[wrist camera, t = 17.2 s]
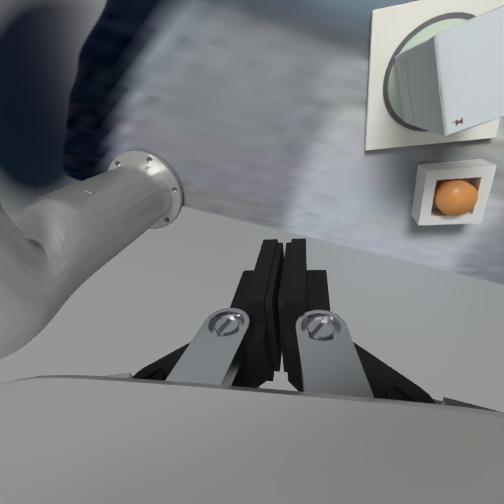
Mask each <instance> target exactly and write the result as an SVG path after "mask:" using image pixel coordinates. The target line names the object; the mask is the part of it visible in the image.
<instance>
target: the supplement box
mask: <svg viewBox="0 0 504 504" xmlns="http://www.w3.org/2000/svg"><path fill="white" fill-rule="evenodd" d="M395 64H396V72H397V78H398V85H399V91H400V97H401V103H402V109H403V115H404V122H405V123H408V124H411V125H413V126H416V127H419V128H422V129H425V130H427V131H430V132H433V133H436V134H439V135H441V136H444V137H447V136H450V135H452V134H455V133H458V132H461V131H464V130H467V129H470V128H473V127H475V126H478V125H481V124H484V123H487V122H490V121H493V120H495V119H498V118H501V117H504V5H502V6H500V7H497V8H495V9H493V10H490V11H488V12H485V13H483V14H481V15H479V16H476V17H474V18H472V19H469V20H467V21H465V22H462V23H460V24H458V25H455V26H453V27H451V28H449V29H446V30H444V31H442V32H439V33H437V34H435V35H434V36H432V37H431V38H429V39H427V40H425V41H423V42H421V43H419V44H417V45H415V46H413V47H411V48H409V49H407V50H405V51H403V52H402V53H400V54H398V55H397V56H395Z"/></svg>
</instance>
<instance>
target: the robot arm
mask: <svg viewBox="0 0 504 504" xmlns="http://www.w3.org/2000/svg"><path fill="white" fill-rule="evenodd" d="M151 159H152V160H151ZM182 203H183V193H182V188H181V184H180V182H179V179H178V177H177V176H176V174H175V172H174V171H173V170H172V168H171V167H170V166H169V165H168V164H167V163H166V162H165V161H164V160H162V159H161V158H159V157H158V156H156V155H154V154H152V153H150V152H146V151H142V150H132V151H128V152H125V153H123V154H120V155H119V156H117V157H116V158H115V159H114V160H113V161H112V163H111V165H110V167H109V169H108V171H107V172H105V173H102V174H99V175H97V176H94V177H92V178H89V179H87V180H84V181H81V182H79V183H76V184H74V185H71V186H69V187H66V188H63V189H61V190H58V191H56V192H53V193H51V194H48V195H46V196H43V197H41V198H39V199H37V200H36V201H34V202H33V203H31V204H30V205H29V206H28V207H27V208H26V209H25V210H24V211H23V212H22V213H21V215H20V216H19V217H18V219H17V221H16V222H15V224H14V223H13V221H12V220H11V218H10V217H9V216H8V214H7V213H6V211H5V210H4V209H3V207H2V206H1V205H0V359H2V358H4V357H6V356H8V355H10V354H12V353H14V352H16V351H17V350H19V349H20V348H21V347H23V346H25V345H26V344H27V343H28V342H30V341H31V340H32V339H33V338H34V337H35V336H37V334H39V333H40V332H41V331H42V330H43V329H44V327H46V325H47V324H48V323H49V322H50V321H51V320H52V319H53V317H54V316H55V315H56V313H57V312H58V311H59V310H60V308H61V307H62V306H63V305H64V303H65V302H66V301H67V300H68V298H69V297H70V296H71V295H72V294H73V293H74V291H76V290H77V289H78V288H79V287H80V285H82V284H83V283H84V282H85V281H86V280H87V279H88V278H89V277H90V276H92V275H93V274H94V273H95V272H96V271H97V270H99V269H100V268H101V267H102V266H103V265H105V264H106V263H107V262H108V261H110V260H111V259H112V258H113V257H114V256H116V255H117V254H118V253H119V252H121V251H122V250H123V249H124V248H125V247H127V246H128V245H129V244H130V243H132V242H133V241H134V240H135V239H136V238H138V237H139V236H140V235H141V234H143V233H144V232H145V231H146V230H147V229H149V228H153V229H156V228H162V227H164V226H167V225H168V224H170V223H171V222H173V221H174V220H175V219H176V218H177V216H178V215H179V213H180V211H181V208H182ZM306 269H307V267H306V239H292V242H291V243H286V250H285V256H284V252H283V243H278V240H277V239H272V240H263V243H262V247H261V250H260V253H259V256H258V259H257V263H256V266H255V269H254V270H252V271H244V272H243V274H242V277H241V279H240V282H239V285H238V287H237V290H236V293H235V296H234V298H233V301H232V304H231V306H230V308H225V309H221V310H218V311H216V312H214V313H212V314H211V315H210V316H209V317H208V318H207V319H206V320H205V322H204V323H203V325H202V326H201V328H200V329H199V331H198V332H197V334H196V335H195V337H194V338H193V340H192V341H191V342H190V343H189V344H186V345H185V346H183V347H181V348H179V349H177V350H175V351H174V352H172V353H170V354H168V355H166V356H165V357H163V358H161V359H159V360H158V361H155V362H154V363H152V364H150V365H148V366H146V367H144V368H143V369H142V370H140V371H139V372H137V373H136V374H135V375H134V376H132V375H131V373H125V374H118V375H111V376H84V375H48V376H36V377H29V378H23V379H18V380H14V381H10V382H6V383H2V384H0V504H504V412H499V411H496V410H491V409H488V408H484V407H480V406H476V405H472V404H469V403H465V402H461V401H457V400H453V399H449V398H445V397H443V400H442V401H439V400H435V399H432V398H431V397H430V395H429V394H428V393H426V392H425V391H424V390H423V389H422V388H420V387H419V386H417V385H416V384H414V383H413V382H412V381H410V380H409V379H407V378H406V377H404V376H403V375H401V374H400V373H398V372H397V371H395V370H394V369H392V368H391V367H389V366H388V365H386V364H385V363H383V362H382V361H380V360H379V359H378V358H376V357H375V356H373V355H372V354H370V353H369V352H367V351H366V350H364V349H363V348H361V347H360V346H358V345H357V344H355V343H354V342H353V341H352V338H351V336H350V333H349V331H348V328H347V325H346V323H345V322H344V320H343V319H342V318H341V317H340V316H339V315H337V314H335V313H333V312H330V304H329V294H328V283H327V273H326V270H306ZM282 354H283V365H284V372H288V381H289V382H290V383H291V384H292V385H293V386H294V387H295V388H296V389H297V390H298V391H286V390H275V389H262V388H260V385H261V384H263V383H264V382H266V381H273V377H274V371H280V364H281V355H282Z"/></svg>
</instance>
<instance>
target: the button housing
mask: <svg viewBox="0 0 504 504" xmlns="http://www.w3.org/2000/svg"><path fill="white" fill-rule="evenodd" d="M496 167H497V165H495V164H493V163H490V162H488V161H486V160H483V159H473V160H462V161H450V162H438V163H427V164H418V167H417V175H416V182H415V189H414V197H413V204H412V211H411V216H412V217H413V219H414V220H415V222H416V223H417V224H418V225H444V224H470V223H482V219H483V216H484V212H485V208H486V204H487V201H488V197H489V193H490V189H491V185H492V182H493V178H494V174H495V170H496ZM460 178H461V179H463V180H464V181H466V182H467V183H469V184H470V185H472V186H473V187H475V188H476V190H477V192H478V199H477V202H476V204H475V205H474V207H473V208H472V209H471V210H469V211H468V212H466V213H464V214H462V215H458V216H449V215H446V214H444V213H443V212H442V211H441V210H440V209H439V208H438V207H437V206H436V205H435V204H434V203H433V198H434V192H435V186H436V183H437V182H438V181H440V180H446V179H460Z"/></svg>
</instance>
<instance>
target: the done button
mask: <svg viewBox="0 0 504 504" xmlns="http://www.w3.org/2000/svg"><path fill="white" fill-rule="evenodd" d="M477 199H478V192H477V190H476V188H475V187H473V186H472V185H470V184H469V183H467V182H466V181H464V180H463V179H461V178H460V179H446V180H440V181H438V182H437V183H436V186H435V192H434V198H433V203H434V204H435V205H436V206H437V207H438V208H439V209H440V210H441V211H442V212H443V213H444V214H446V215H449V216H458V215H462V214H464V213H466V212H468V211H469V210H471V209H472V208H473V207H474V205H475V204H476V202H477Z"/></svg>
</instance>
